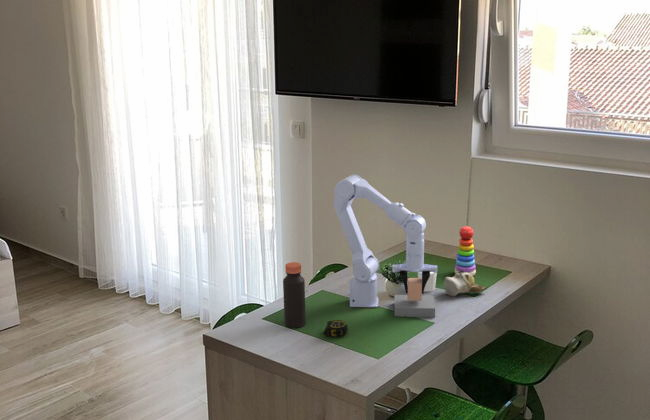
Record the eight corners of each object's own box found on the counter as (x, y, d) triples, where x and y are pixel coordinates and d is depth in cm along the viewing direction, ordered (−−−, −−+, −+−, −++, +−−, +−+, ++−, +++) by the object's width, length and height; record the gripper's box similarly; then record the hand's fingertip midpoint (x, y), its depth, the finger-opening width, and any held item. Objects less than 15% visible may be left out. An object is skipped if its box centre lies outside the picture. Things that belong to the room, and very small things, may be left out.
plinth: (394, 316, 225) (394, 307, 224) (394, 303, 236) (394, 294, 235) (434, 317, 224) (435, 308, 223) (433, 303, 234) (433, 295, 234)
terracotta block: (407, 300, 226) (407, 282, 225) (407, 294, 231) (407, 278, 229) (421, 300, 226) (421, 283, 224) (421, 295, 230) (421, 278, 229)
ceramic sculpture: (436, 268, 243) (470, 263, 249) (434, 291, 245) (468, 286, 251) (455, 277, 233) (490, 272, 240) (453, 301, 236) (487, 295, 242)
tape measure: (327, 329, 217) (327, 318, 216) (349, 330, 216) (349, 319, 215) (323, 339, 210) (323, 327, 209) (346, 340, 209) (345, 329, 208)
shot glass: (436, 293, 244) (436, 274, 242) (416, 291, 245) (416, 273, 243) (437, 285, 250) (437, 267, 248) (417, 284, 251) (418, 266, 250)
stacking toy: (450, 271, 264) (451, 224, 259) (469, 269, 266) (471, 222, 261) (460, 278, 257) (462, 230, 252) (479, 275, 259) (481, 227, 254)
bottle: (280, 324, 221) (277, 264, 216) (296, 317, 226) (294, 259, 220) (294, 330, 216) (292, 270, 211) (310, 323, 221) (308, 264, 216)
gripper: (392, 257, 221) (392, 296, 225) (438, 257, 220) (437, 297, 224) (392, 249, 228) (392, 288, 232) (437, 250, 227) (436, 289, 230)
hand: (414, 292), depth 228 cm, fingers closed on terracotta block, 4 cm apart
